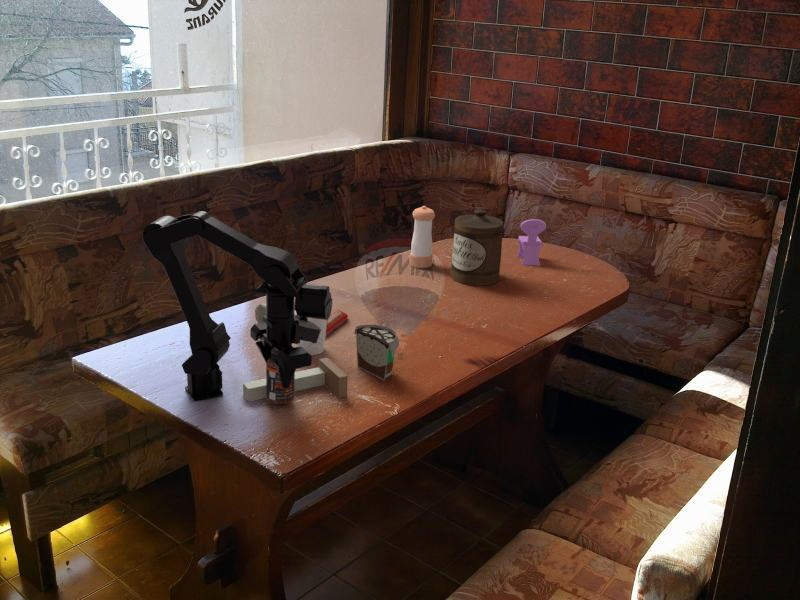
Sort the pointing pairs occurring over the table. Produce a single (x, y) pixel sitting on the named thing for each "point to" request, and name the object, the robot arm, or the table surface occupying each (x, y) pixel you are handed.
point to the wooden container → (477, 249)
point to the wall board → (305, 381)
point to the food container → (376, 349)
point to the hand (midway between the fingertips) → (280, 381)
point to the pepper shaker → (422, 238)
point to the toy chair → (531, 241)
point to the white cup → (319, 346)
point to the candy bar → (335, 321)
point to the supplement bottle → (277, 383)
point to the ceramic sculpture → (261, 312)
